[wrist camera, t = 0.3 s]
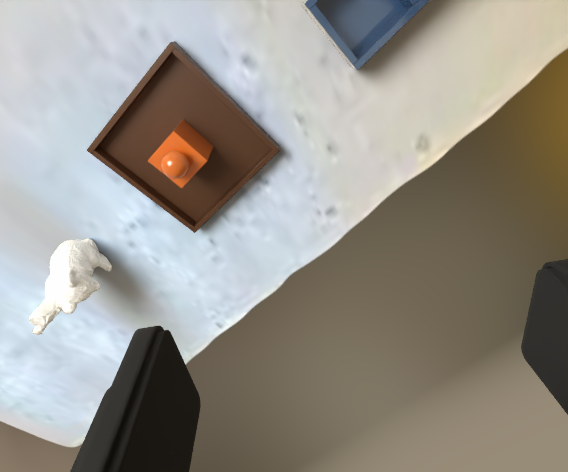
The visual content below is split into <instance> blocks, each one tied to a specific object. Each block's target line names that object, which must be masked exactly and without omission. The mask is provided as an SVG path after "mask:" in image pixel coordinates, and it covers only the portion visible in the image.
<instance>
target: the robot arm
mask: <svg viewBox="0 0 568 472" xmlns="http://www.w3.org/2000/svg"><path fill="white" fill-rule="evenodd" d="M521 348H522V353H523V356H524V358H525V360H526V361H527V362H528V364H529V365H530V366H531V368H532V369H533V370H534V372H535V373H536V374H537V375H538V377H539V378H540V379H541V381H542V382H543V383H544V384H545V386H546V387H547V388H548V390H549V391H550V392H551V394H552V395H553V396H554V397H555V399H556V400H557V401H558V403H559V404H560V405H561V406H562V408H563V409H564V410H565V412H566V413H567V414H568V259H567V260H560V261H554V262H548V263H545V264H544V266H543V268H542V270H539V271H538V272H537V274H536V279H535V284H534V288H533V293H532V298H531V303H530V308H529V312H528V317H527V322H526V327H525V331H524V336H523V340H522V346H521ZM199 412H200V397H199V394H198V391H197V390H196V387H195V385H194V383H193V381H192V379H191V376H190V374H189V372H188V370H187V368H186V365H185V363H184V361H183V359H182V356H181V354H180V352H179V350H178V348H177V345H176V343H175V341H174V339H173V337H172V335H171V333H170V331H169V330H165V331H164V329H163V328H162V327H161V326H154V327H148V328H142V329H138V330H136V331H135V333H134V335H133V337H132V340H131V342H130V344H129V347H128V349H127V351H126V354H125V356H124V358H123V360H122V363H121V365H120V367H119V370H118V372H117V374H116V377H115V379H114V381H113V384H112V386H111V387H110V388H109V389H108V390H107V391H106V393H105V395H104V397H103V399H102V401H101V403H100V406H99V408H98V410H97V412H96V415H95V417H94V419H93V422H92V424H91V426H90V428H89V431H88V433H87V435H86V437H85V440H84V442H83V444H82V446H81V449H80V451H79V453H78V455H77V458H76V460H75V462H74V464H73V467H72V469H71V472H189V469H190V463H191V458H192V452H193V446H194V441H195V435H196V429H197V423H198V418H199Z"/></svg>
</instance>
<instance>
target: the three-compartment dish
mask: <svg viewBox="0 0 568 472" xmlns="http://www.w3.org/2000/svg"><path fill="white" fill-rule="evenodd" d="M428 1H430V0H305V1H304V2H303V3H302V7H303V8H304V9H305V10H306V12H307V13H308V14H309V15H310V17H311V18H312V19H313V20H314V22H315V23H316V24H317V25H318V27H319V28H320V29H321V30H322V32H323V33H324V34H325V35H326V37H327V38H328V39H329V40H330V42H331V43H332V44H333V45H334V47H335V48H336V49H337V50H338V52H339V53H340V54H341V55H342V57H343V58H344V59H345V60H346V62H347V63H348V64H349V65H350V67H352V68H354V69H356V70H359V69H360V68H361V67H362V66H363V65H364V64H365V63H366V62H367V61H368V60H369V59H370V58H371V57H372V56H373V55H374V54H375V53H376V52H377V51H378V50H379V49H380V48H381V47H382V46H383V45H384V44H385V43H386V42H387V41H388V40H390V39H391V38H392V37H393V36H394V35H395V34H396V33H397V32H398V31H399V30H400V29H401V28H402V27H403V26H404V25H405V24H406V23H407V22H408V21H409V20H410V19H411V18H412V17H413V16H414V15H415V14H416V13H417V12H418V11H419V10H420V9H421V8H422V7H423V6H424V5H425V4H426V3H427V2H428Z"/></svg>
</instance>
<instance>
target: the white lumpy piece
mask: <svg viewBox="0 0 568 472" xmlns="http://www.w3.org/2000/svg"><path fill="white" fill-rule="evenodd" d="M49 266H50V270H51V274H50V276H49V277H48V279H47V280H46V283H45V290H46V291H45V296H46V298H45V299H44V301H43V302H42V303H41V304H40V305H39V306H38V308H37V309H36V310H35V311H34V312H33V313H32V314H31V315H30V317H29V319H30V322H31V323H32V324H33V325H36V327H35V328H34V330H33V331H32V332H33V333H35V334H37V335H40V334H42V333H43V331H44V329H45V328H46V326H47V325H48V324H49V323H50V322H51V321H53V319H54V318H55V316H56V315H57V314H58V313H59V312H60V311H61V310H62V311H63V312H64V313H66V314H71V313H73V311H74V310H75V309H76V307H77V303H79V302H81V301H84V300H86V299H87V298H88V297H89V296H90V295H91V294H92V293H93V292H94V291H97V290H98V289H99V288H100V286H99V282H97V281H94V280H93V279H92V275H93V271H94V268H96V267H97V266H98V267H101V268H103V269H104V270H106V271H110V270H111V269H112V265H111V264H110V263H109V261H108V259H107V258H106V257H105V256H104V255H103V254H101V253H99V250H98V248H97V246H96V244H95V242H94V241H93V240H91V239H87V238H86V239H84V240H83V241H82V240H76V239H74V240H68V241H65V242H63V243H62V244H60V245H59V246H58V248H57V249H56V250H55V252H54V253H53V255H52V257H51V258H50V264H49Z"/></svg>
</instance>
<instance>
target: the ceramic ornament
mask: <svg viewBox="0 0 568 472" xmlns="http://www.w3.org/2000/svg"><path fill="white" fill-rule="evenodd" d="M212 149H213V146H212V145H211V144H210V143H209V142H208V141H207V140H206V139H205V138H203V137H202V136H201V135H200V134H199V133H198V132H197V131H196V130H195V129H193V128H192V127H191V126H190V125H189V124H188V123H187V122H186V121H185V120H182V121H181V122H180V123H179V124H178V126H177V127H176V128H175V129H174V130H173V131H172V133H171V134H170V135H169V136H168V137H167V138H166V139H165V141H164V142H163V143H162V144H161V145H160V146H159V148H158V149H157V150H156V151H155V152H154V154H153V155H152V156H151V157H150V158H149V160H148V162H150V163H151V164H152V165H153V166H155V167H156V168H157V169H158V170H160V171H161V172H162V173H163V174H165V175H166V176H167V177H168V178H169V179H171V180H172V181H173V182H174V183H176V184H177V185H178V186H179V187H181V188H182V187H183V186H184V185H185V184H186V183H187V182H188V181H189V180H190V179H191V178H192V177H193V176H194V175H195V174H196V173H197V172H198V171H199V170H200V168H201V167H202V166H203V165H204V164H205V163H206V162H207V161H208V159H209V156H210V154H211V151H212Z"/></svg>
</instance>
